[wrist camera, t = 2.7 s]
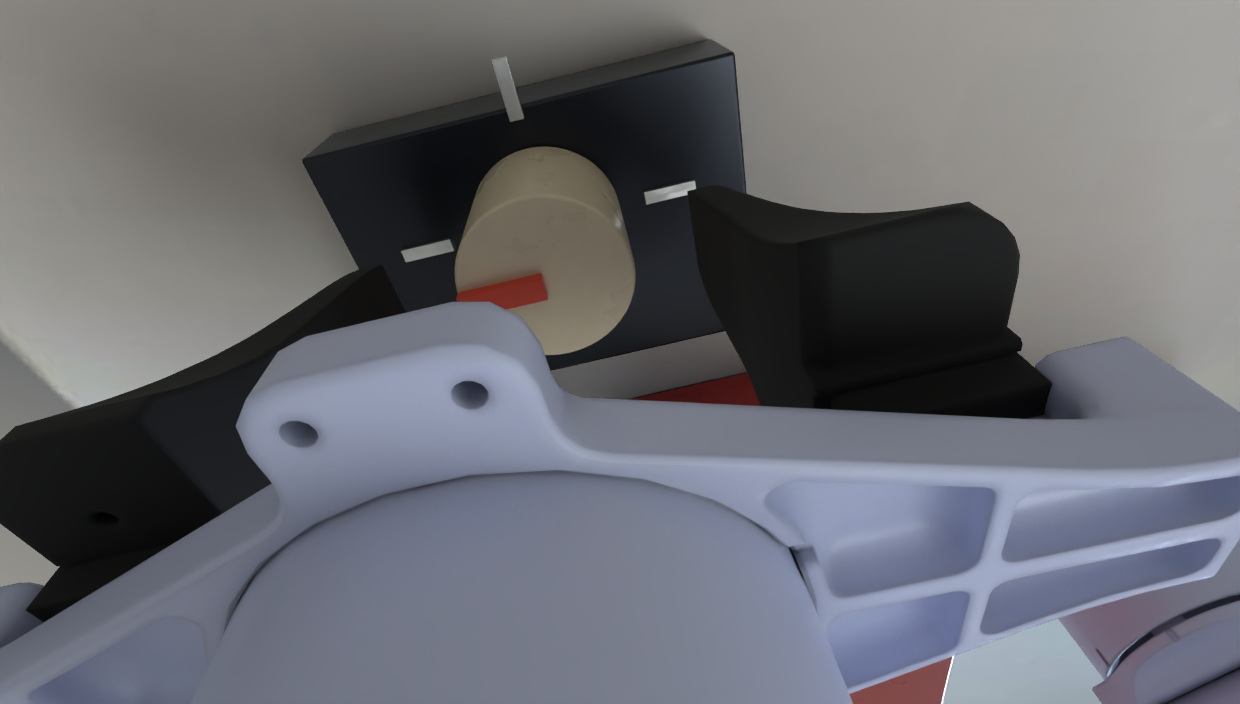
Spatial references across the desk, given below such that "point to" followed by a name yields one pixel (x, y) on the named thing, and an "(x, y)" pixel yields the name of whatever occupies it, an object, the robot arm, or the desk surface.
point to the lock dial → (548, 248)
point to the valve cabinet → (897, 700)
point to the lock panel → (564, 118)
